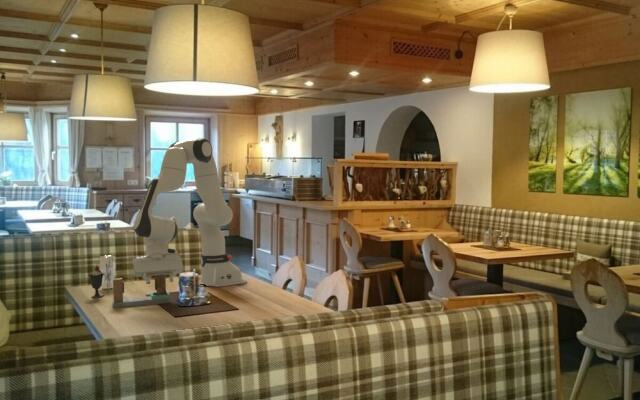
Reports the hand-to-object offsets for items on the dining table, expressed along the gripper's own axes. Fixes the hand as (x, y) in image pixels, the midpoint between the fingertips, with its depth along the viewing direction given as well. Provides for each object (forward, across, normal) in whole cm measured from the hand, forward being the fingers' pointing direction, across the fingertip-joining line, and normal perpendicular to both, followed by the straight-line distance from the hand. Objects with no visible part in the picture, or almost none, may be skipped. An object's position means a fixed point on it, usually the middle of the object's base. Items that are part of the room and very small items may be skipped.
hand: (159, 282), depth 241 cm
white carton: (-24, -20, +36) cm, 48 cm away
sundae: (-10, -25, +22) cm, 34 cm away
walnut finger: (+4, 0, +5) cm, 6 cm away
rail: (+6, -8, +6) cm, 11 cm away
